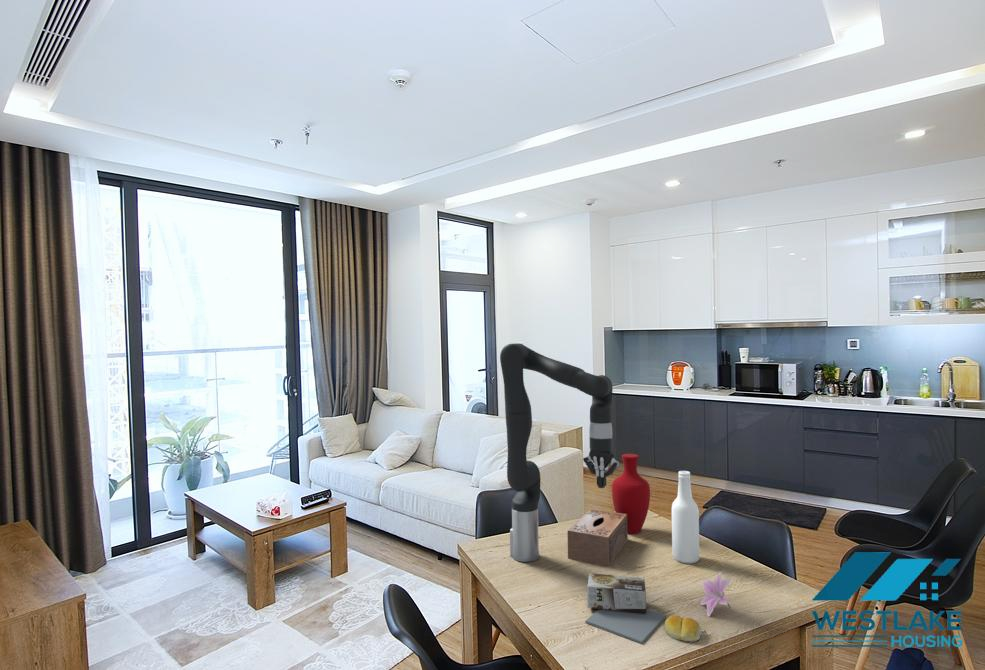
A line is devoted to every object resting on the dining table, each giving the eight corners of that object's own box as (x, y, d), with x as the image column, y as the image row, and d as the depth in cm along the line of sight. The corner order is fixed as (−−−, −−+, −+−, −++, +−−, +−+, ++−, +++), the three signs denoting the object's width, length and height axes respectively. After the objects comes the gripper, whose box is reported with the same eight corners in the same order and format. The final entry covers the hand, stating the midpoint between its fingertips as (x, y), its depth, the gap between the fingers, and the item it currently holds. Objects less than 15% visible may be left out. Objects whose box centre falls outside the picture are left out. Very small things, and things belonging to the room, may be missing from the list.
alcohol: (675, 551, 189) (673, 467, 189) (701, 556, 185) (699, 470, 185) (669, 561, 182) (668, 473, 182) (697, 566, 177) (695, 476, 177)
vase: (613, 537, 204) (612, 459, 204) (611, 523, 218) (610, 450, 218) (653, 539, 201) (651, 460, 201) (648, 525, 216) (647, 451, 216)
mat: (585, 622, 144) (585, 620, 144) (612, 599, 156) (612, 597, 156) (641, 643, 134) (641, 641, 134) (666, 617, 146) (666, 614, 146)
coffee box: (587, 608, 150) (646, 614, 146) (587, 585, 150) (646, 591, 146) (589, 594, 159) (645, 599, 155) (589, 572, 159) (645, 577, 155)
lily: (704, 598, 158) (690, 572, 157) (744, 590, 153) (729, 563, 152) (706, 630, 148) (690, 603, 146) (749, 623, 142) (733, 595, 141)
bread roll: (668, 621, 144) (668, 607, 144) (703, 631, 139) (703, 615, 139) (660, 636, 137) (660, 621, 137) (697, 647, 132) (697, 630, 132)
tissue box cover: (590, 534, 208) (590, 508, 208) (627, 540, 201) (627, 514, 201) (567, 559, 185) (567, 530, 185) (608, 567, 179) (608, 537, 179)
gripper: (577, 435, 178) (578, 486, 178) (613, 439, 170) (614, 493, 170) (588, 431, 184) (589, 481, 184) (624, 435, 176) (625, 488, 175)
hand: (601, 487), depth 177 cm, fingers closed
